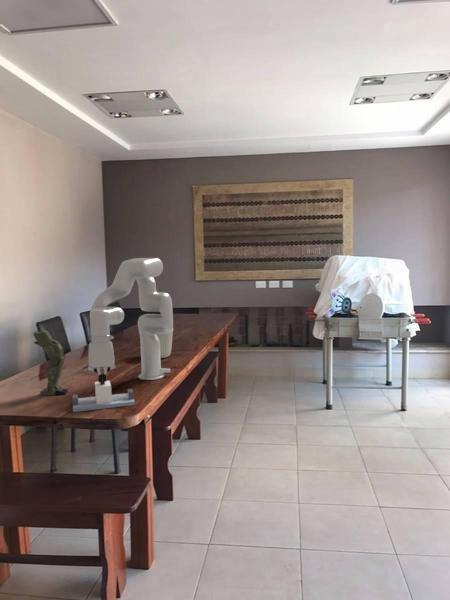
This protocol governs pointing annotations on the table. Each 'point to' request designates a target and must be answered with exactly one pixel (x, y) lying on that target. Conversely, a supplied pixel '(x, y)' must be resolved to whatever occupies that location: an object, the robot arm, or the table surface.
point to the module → (103, 392)
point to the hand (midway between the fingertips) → (102, 383)
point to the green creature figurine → (52, 362)
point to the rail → (93, 399)
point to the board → (103, 405)
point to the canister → (165, 344)
